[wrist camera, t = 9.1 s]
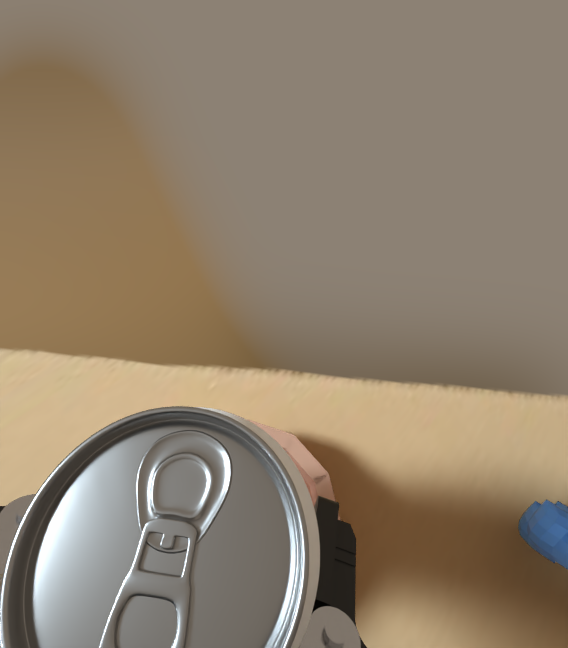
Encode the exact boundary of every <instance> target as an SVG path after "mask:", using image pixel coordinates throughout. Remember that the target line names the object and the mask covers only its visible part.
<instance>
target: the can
mask: <svg viewBox="0 0 568 648" xmlns="http://www.w3.org/2000/svg"><path fill="white" fill-rule="evenodd" d="M319 571H320V541H319V531H318V524H317V518H316V514H315V510H314V506H313V502H312V499H311V496H310V493H309V491H308V488H307V486H306V484H305V481H304V479H303V477H302V475H301V474H300V472H299V470H298V468H297V467H296V465H295V463H294V462H293V461H292V459H291V458H290V456H289V455H288V454H287V452H286V451H285V450H284V449H283V448H282V447H281V446H280V444H279V443H278V442H277V441H276V440H275V439H273V438H272V437H271V436H270V435H269V434H268V433H266V432H265V431H264V430H262V429H261V428H260V427H258V426H257V425H255V424H253V423H252V422H250V421H248V420H246V419H244V418H242V417H240V416H237V415H234V414H232V413H229V412H225V411H221V410H217V409H211V408H201V407H183V406H175V407H162V408H156V409H151V410H146V411H142V412H139V413H136V414H133V415H130V416H127V417H125V418H122V419H120V420H118V421H116V422H114V423H112V424H110V425H108V426H106V427H105V428H103V429H101V430H100V431H98V432H96V433H95V434H93V435H92V436H91V437H89V438H88V439H86V440H85V441H84V442H83V443H81V444H80V445H79V446H78V447H77V448H75V449H74V450H73V451H72V452H71V453H70V454H69V455H68V456H67V457H66V458H65V459H64V460H63V461H62V462H61V463H60V464H59V465H58V466H57V467H56V468H55V469H54V471H53V472H52V473H51V474H50V475H49V477H48V478H47V479H46V481H45V482H44V483H43V485H42V486H41V487H40V489H39V490H38V492H37V493H36V495H35V497H34V498H33V500H32V501H31V503H30V505H29V507H28V508H27V510H26V512H25V514H24V516H23V518H22V520H21V522H20V524H19V527H18V529H17V531H16V534H15V536H14V539H13V542H12V544H11V547H10V550H9V554H8V557H7V561H6V565H5V569H4V573H3V579H2V584H1V592H0V643H1V648H298V647H299V645H300V643H301V641H302V639H303V636H304V634H305V631H306V629H307V626H308V623H309V620H310V617H311V614H312V610H313V607H314V602H315V598H316V593H317V587H318V580H319Z"/></svg>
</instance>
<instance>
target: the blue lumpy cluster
mask: <svg viewBox="0 0 568 648" xmlns="http://www.w3.org/2000/svg"><path fill="white" fill-rule="evenodd" d="M518 529H519V533H520V535H521V537H522V538H523V539H524V541H525V542H526V543H527V544H528V545H529V546H531V547H532V548H533V549H534V550H535V551H537V552H538V553H540V554H541V555H543V556H544V557H546V558H547V559H549V560H550V561H552V562H553V563H555V562H557V563H558V564H560V565H562V566H563V567H565V568H566V569H568V506H566V505H564V504H562V503H560V502H559V501H558V502H557V503H556V504H553V503H552V502H550V501H548V500H546V501H545V502H544V503H543V504H542V505H541V504H540V503H538V502H536V501H535V502H534V503H533V504H532V505H531V506H530V507H529V508H528V509H527V510H526V511H525V513H524V514H523V515H522V517H521V519H520V521H519V525H518Z"/></svg>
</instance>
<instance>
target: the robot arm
mask: <svg viewBox="0 0 568 648" xmlns="http://www.w3.org/2000/svg"><path fill="white" fill-rule="evenodd" d="M35 495H36V494H32V495H27V496H23V497H21V498H18V499H16V500H14V501H12V502H11V503H9V504H8V505H7V506H0V592H1V584H2V579H3V573H4V569H5V565H6V561H7V557H8V554H9V550H10V547H11V544H12V542H13V539H14V536H15V534H16V531H17V529H18V527H19V524H20V522H21V520H22V518H23V516H24V514H25V512H26V510H27V508H28V507H29V505H30V503H31V501H32V500H33V498H34V497H35ZM314 510H315V514H316V518H317V524H318V531H319V541H320V571H319V580H318V587H317V593H316V598H315V602H314V607H313V610H312V614H311V617H310V620H309V623H308V626H307V629H306V631H305V634H304V636H303V639H302V641H301V643H300V645H299V647H298V648H367V647H366V646H365V644H364V643H363V641H362V640H361V638H360V636H359V633H358V630H357V628H356V623H355V570H356V569H355V566H356V557H355V555H356V538H355V535H354V533H353V530H352V528H351V525H350V524H348V523H346V522H343V521H340V520H338V510H339V503H338V502H335V501H333V500H330V499H327V498H324V497H321V496H318V497H317V500H316V503H315V506H314ZM0 648H1V643H0Z"/></svg>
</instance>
